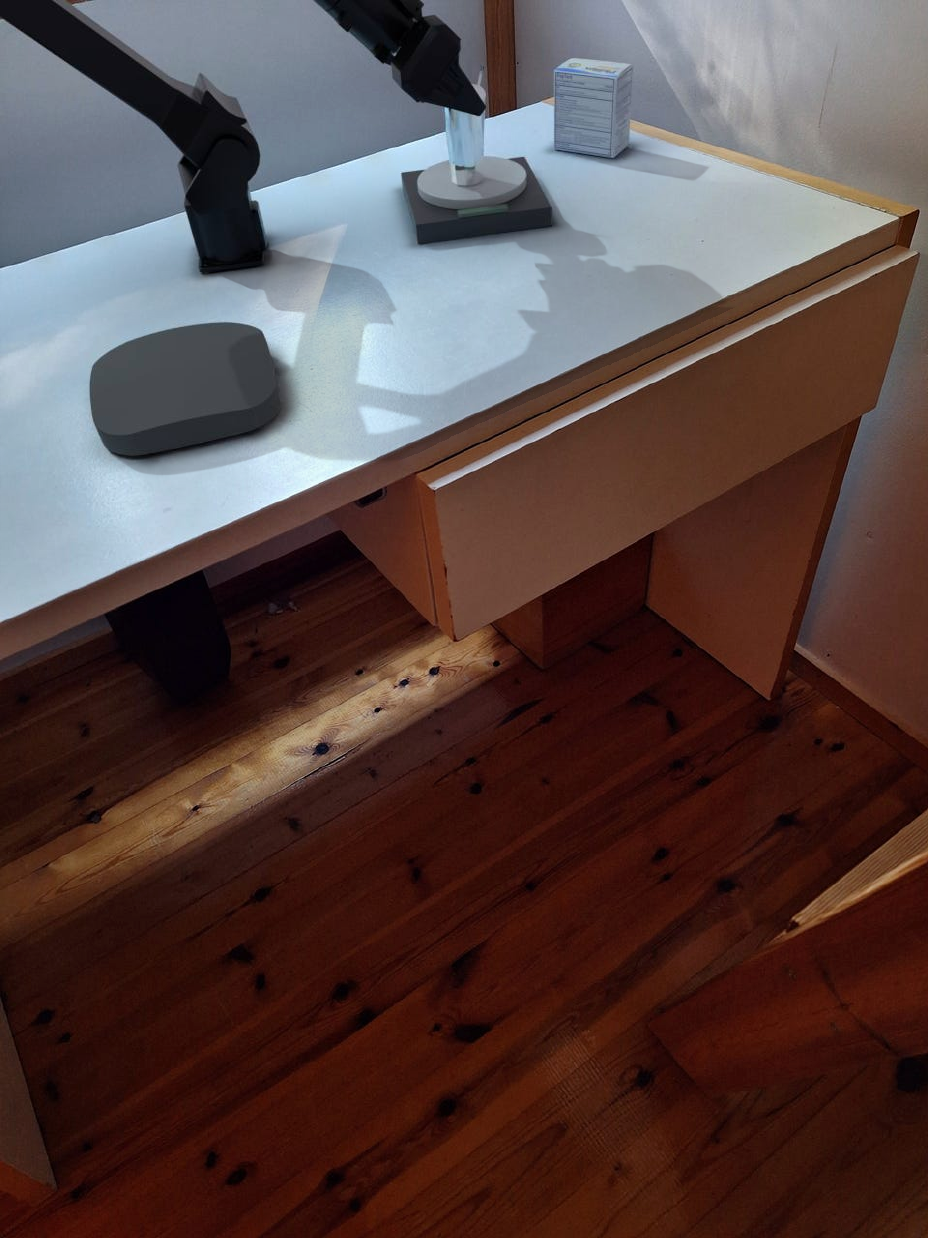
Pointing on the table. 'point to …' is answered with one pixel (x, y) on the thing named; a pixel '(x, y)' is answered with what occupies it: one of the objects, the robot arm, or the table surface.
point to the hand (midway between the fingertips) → (468, 96)
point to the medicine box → (592, 106)
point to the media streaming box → (183, 388)
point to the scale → (475, 201)
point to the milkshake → (466, 141)
